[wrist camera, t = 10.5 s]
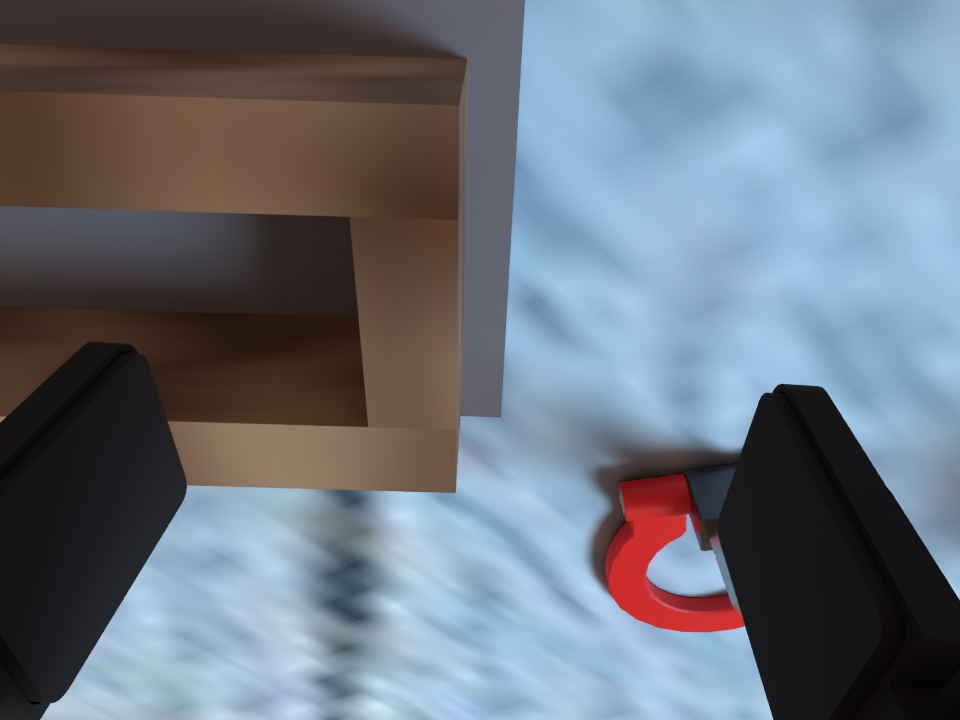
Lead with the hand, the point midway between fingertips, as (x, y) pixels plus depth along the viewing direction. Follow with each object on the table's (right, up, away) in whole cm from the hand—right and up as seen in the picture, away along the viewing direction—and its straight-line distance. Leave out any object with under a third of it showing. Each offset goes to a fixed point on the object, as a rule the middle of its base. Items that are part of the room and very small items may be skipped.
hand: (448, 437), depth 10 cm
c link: (-7, +5, +7) cm, 11 cm away
